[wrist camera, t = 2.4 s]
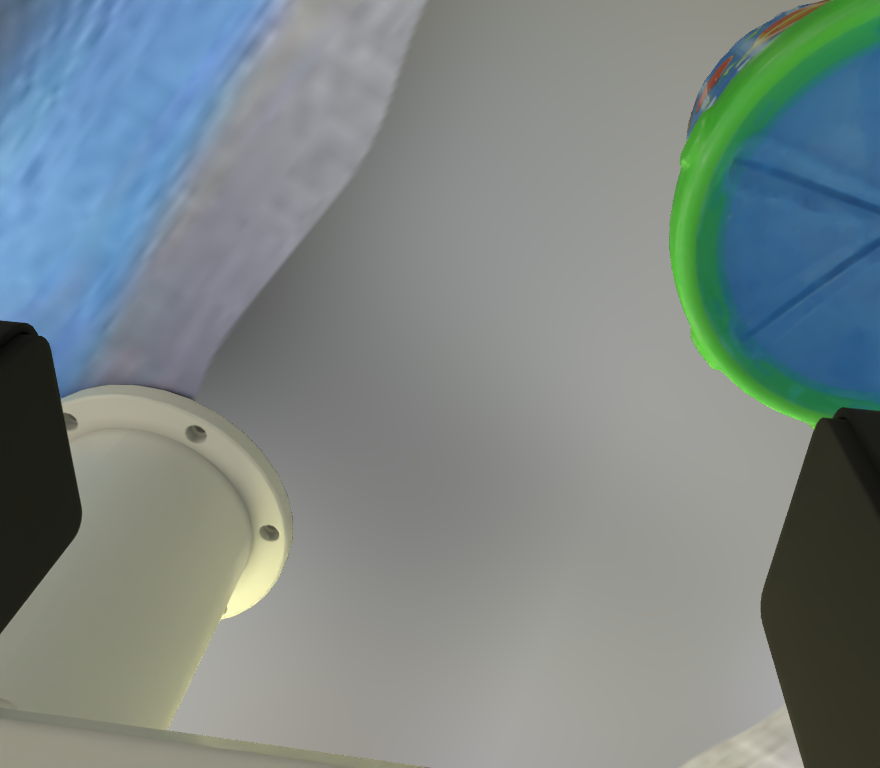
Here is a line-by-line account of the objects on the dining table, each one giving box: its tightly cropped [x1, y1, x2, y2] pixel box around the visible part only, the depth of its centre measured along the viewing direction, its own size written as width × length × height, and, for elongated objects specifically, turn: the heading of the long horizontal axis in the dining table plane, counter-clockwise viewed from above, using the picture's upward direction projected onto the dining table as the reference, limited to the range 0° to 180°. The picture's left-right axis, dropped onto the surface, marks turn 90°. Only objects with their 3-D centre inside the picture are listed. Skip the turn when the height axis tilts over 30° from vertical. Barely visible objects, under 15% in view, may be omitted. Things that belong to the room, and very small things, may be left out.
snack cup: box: [669, 0, 880, 429], centre depth 23 cm, size 16×10×10 cm
